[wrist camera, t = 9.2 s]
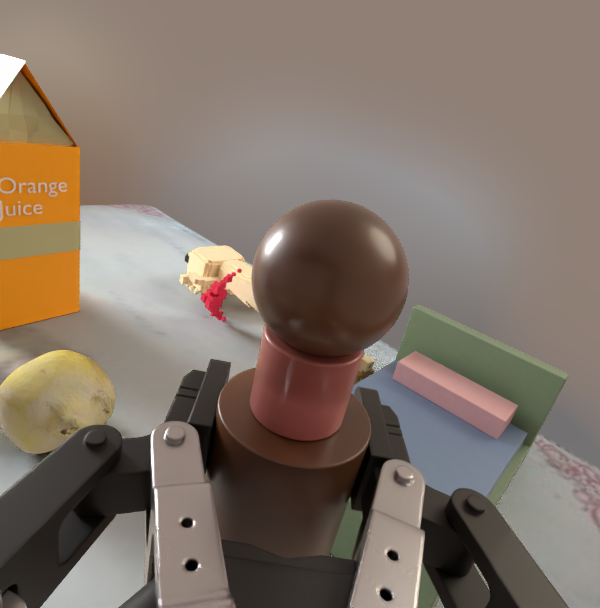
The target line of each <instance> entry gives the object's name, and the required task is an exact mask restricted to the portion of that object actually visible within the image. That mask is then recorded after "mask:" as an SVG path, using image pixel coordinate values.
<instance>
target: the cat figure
mask: <svg viewBox="0 0 600 608" xmlns="http://www.w3.org/2000/svg"><path fill="white" fill-rule="evenodd" d="M185 261H186V262H187V265H188V268H187V274H180V281H179V282H180V283H181V284H182V285H186V286H187V287H188V286H189V289H190V290H193V288H197V289H195V290H194V292H193V293H194V294H197V293H198V292H201V293H203V294H201V300H202V301H203V302H204V303H205V307H206V308H207V309H208V310H209V311H210V312H211V316H215V317H216V318H217V319H218V320H221V319H222V321H223V322H224V321H226V318H225V317H222V315H223V311H222V310H220V311H218V310H219V308H220V307H222V303H223V299H226V296H227V292H228V293H229V294H231V295H235V296H236V297H238V298H239V299H240V300H241V301H242V302H243V303H244V304H246V305H247V306H248V307H253V308H254V309H255V310H256V311H257V312H259V311H258V309H257V306H256V303H255V300H254V297H253V291H252V280H251V274H252V266H251V265H248V264H247V263H245V262H244V261H245V259H244V258H243V256H241V255H240V254H238V253H237V252H236V251H235V250H233V249H232V248H231V247H227V246H212V247H199V248H196V249H194V250H193V251H191V252H189V253H188V254H187V255H186V256H185ZM192 284H193V285H192ZM374 362H375V361H374V360H373V359H371V358H370V357H369V356H368V355H366V356H363V357H362V360H361V364H360V367H359V370H358V373H357V376H356V380H355V383H354V385H355V384H357V383H358V382H360V381H362V380H363V379H365V378H367V377H368V376H370V375H372V374H373V373H374V370H373V369H372V367H373V364H374Z"/></svg>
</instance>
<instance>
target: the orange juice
mask: <svg viewBox="0 0 600 608" xmlns="http://www.w3.org/2000/svg"><path fill="white" fill-rule="evenodd" d="M25 62H26V61H24V60H20V59H17V58H14V57H10V56H7V55H3V54H0V330H3V329H7V328H11V327H15V326H20V325H24V324H28V323H32V322H36V321H41V320H45V319H49V318H53V317H57V316H61V315H66V314H70V313H74V312H78V311H79V264H80V147H77V145H76V144H75V142H74V140H73V139H72V137H71V136H70V134H69V133H68V131H67V129H66V128H65V126H64V124H63V123H62V121H61V120H60V118H59V117H58V115H57V113H56V112H55V110H54V109H53V107H52V106H51V104H50V102H49V101H48V99H47V98H46V96H45V94H44V93H43V91H42V90H41V88H40V86H39V85H38V83H37V82H36V80H35V79H34V77H33V76H32V74H31V73H30V71H29V69H28V67H27V66H26V64H25Z"/></svg>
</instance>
